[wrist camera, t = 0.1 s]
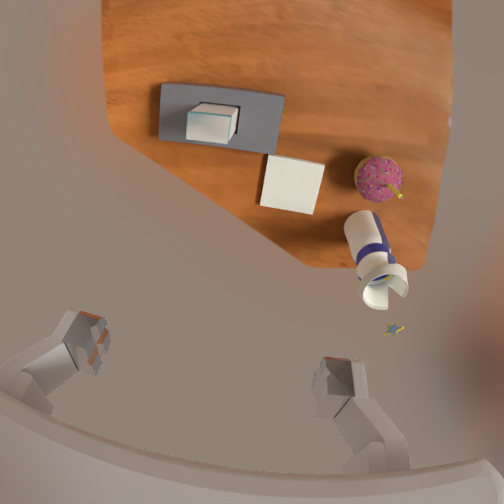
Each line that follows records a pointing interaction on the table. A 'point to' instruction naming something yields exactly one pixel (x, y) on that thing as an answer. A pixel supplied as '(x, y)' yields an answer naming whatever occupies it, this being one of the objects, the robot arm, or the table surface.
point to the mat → (291, 184)
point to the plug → (212, 122)
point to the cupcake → (378, 178)
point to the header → (251, 101)
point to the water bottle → (374, 262)
